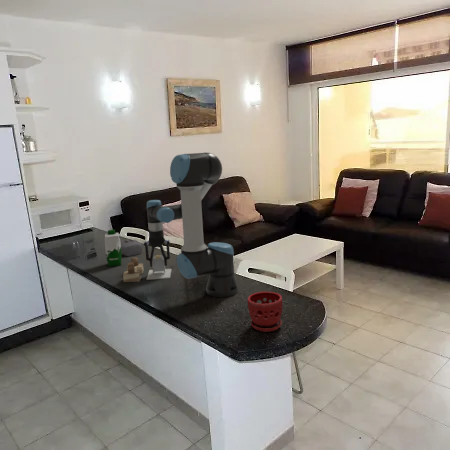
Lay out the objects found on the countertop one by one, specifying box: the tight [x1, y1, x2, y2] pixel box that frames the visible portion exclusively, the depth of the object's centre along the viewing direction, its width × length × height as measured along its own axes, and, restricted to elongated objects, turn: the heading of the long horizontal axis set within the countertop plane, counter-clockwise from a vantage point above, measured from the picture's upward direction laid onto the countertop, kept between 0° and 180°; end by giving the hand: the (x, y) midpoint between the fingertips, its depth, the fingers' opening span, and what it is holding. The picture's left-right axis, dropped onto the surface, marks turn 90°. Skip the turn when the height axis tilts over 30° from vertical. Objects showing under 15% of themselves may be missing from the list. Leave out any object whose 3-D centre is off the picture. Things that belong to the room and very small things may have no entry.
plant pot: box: [247, 291, 283, 333], centre depth 154 cm, size 13×13×12 cm
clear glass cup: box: [152, 254, 164, 272], centre depth 217 cm, size 6×5×8 cm
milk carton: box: [103, 229, 123, 268], centre depth 237 cm, size 9×9×20 cm
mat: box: [146, 268, 172, 281], centre depth 218 cm, size 14×12×1 cm
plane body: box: [122, 256, 144, 283], centre depth 216 cm, size 17×8×9 cm, turn 4°
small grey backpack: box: [120, 239, 143, 257], centre depth 262 cm, size 15×8×20 cm
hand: (159, 271), depth 218 cm, fingers closed on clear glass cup, 5 cm apart
